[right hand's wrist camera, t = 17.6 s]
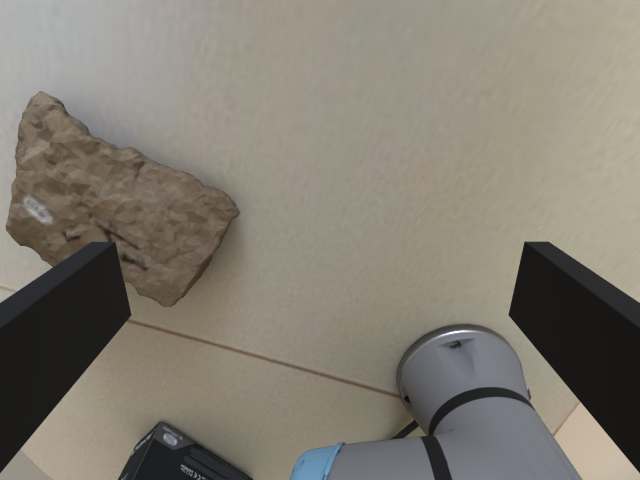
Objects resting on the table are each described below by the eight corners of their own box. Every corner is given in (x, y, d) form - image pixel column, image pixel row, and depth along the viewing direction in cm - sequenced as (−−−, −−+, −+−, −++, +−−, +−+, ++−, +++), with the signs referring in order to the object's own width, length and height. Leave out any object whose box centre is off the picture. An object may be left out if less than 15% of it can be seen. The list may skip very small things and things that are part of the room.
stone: (-17, 223, 38) (-57, 239, 32) (46, 90, 36) (16, 82, 31) (183, 303, 45) (179, 327, 40) (243, 195, 44) (247, 204, 38)
